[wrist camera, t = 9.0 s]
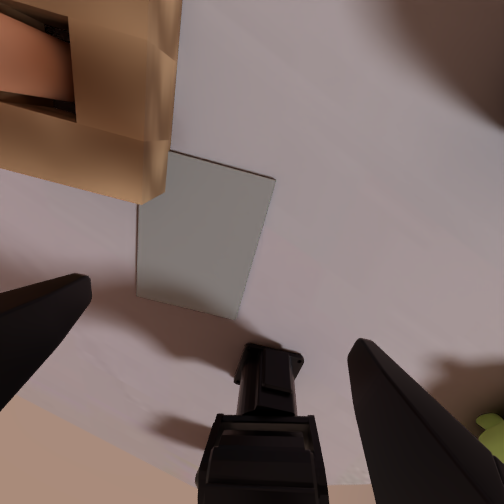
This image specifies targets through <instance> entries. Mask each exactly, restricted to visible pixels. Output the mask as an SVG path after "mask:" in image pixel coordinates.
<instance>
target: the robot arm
mask: <svg viewBox="0 0 504 504" xmlns="http://www.w3.org/2000/svg"><path fill="white" fill-rule="evenodd" d="M91 299H92V291H91V280H90V278H89V276H87V275H83V274H78V273H73V274H69V275H66V276H62V277H58V278H55V279H51V280H47V281H43V282H40V283H36V284H32V285H29V286H25V287H21V288H18V289H14V290H10V291H7V292H3V293H0V411H1V410H2V409H3V408H4V407H5V405H6V404H7V403H8V402H9V401H10V400H11V399H12V398H13V397H14V395H15V394H16V393H17V392H18V391H19V390H20V389H21V388H22V386H23V385H24V384H25V383H26V382H27V381H28V380H29V379H30V377H31V376H32V375H33V374H34V373H35V372H36V371H37V370H38V368H39V367H40V366H41V365H42V364H43V363H44V362H45V360H46V359H47V358H48V357H49V356H50V355H51V354H52V353H53V351H54V350H55V349H56V348H57V347H58V346H59V344H60V343H61V342H62V340H63V339H64V338H65V337H66V335H67V334H68V332H69V331H70V330H71V328H72V327H73V326H74V324H75V323H76V321H77V320H78V319H79V317H80V316H81V315H82V313H83V312H84V311H85V309H86V308H87V306H88V305H89V304H90V302H91ZM347 361H348V369H349V376H350V384H351V391H352V399H353V405H354V411H355V415H356V420H357V424H358V428H359V433H360V437H361V441H362V445H363V450H364V454H365V458H366V462H367V467H368V471H369V475H370V479H371V484H372V487H373V492H374V496H375V500H376V504H504V463H502V462H501V461H500V460H499V459H498V458H497V457H496V456H494V455H492V453H491V451H490V450H489V449H487V448H486V447H485V446H484V445H483V444H482V443H481V442H480V441H479V440H478V439H477V438H476V437H475V436H474V435H472V434H471V433H470V432H469V431H468V430H467V429H466V428H465V427H464V426H463V425H462V424H461V423H460V422H459V421H457V420H456V419H455V418H454V417H453V416H452V415H451V414H450V413H449V412H448V411H447V410H446V409H445V408H444V407H442V406H441V405H440V404H439V403H438V402H437V401H436V400H435V399H434V398H433V397H432V396H431V395H430V394H429V393H428V392H426V391H425V390H424V389H423V388H422V387H421V386H420V385H419V384H418V383H417V382H416V381H415V380H414V379H413V378H411V377H410V376H409V375H408V374H407V373H406V372H405V371H404V370H403V369H402V368H401V367H400V366H399V365H398V364H396V363H395V362H394V361H393V360H392V359H391V358H390V357H389V356H388V355H387V354H386V353H385V352H384V351H383V350H382V349H380V348H379V347H378V346H377V345H376V344H375V343H374V342H373V341H371V340H368V339H363V338H359V339H357V341H356V342H355V344H354V346H353V347H352V349H351V351H350V352H349V354H348V360H347ZM303 363H304V358H303V356H301V355H297V354H293V353H289V352H284V351H280V350H276V349H272V348H268V347H263V346H259V345H255V344H251V343H248V344H246V345H245V347H244V350H243V353H242V356H241V359H240V362H239V365H238V368H237V371H236V374H235V377H234V383H235V384H238V385H240V389H239V397H238V405H237V413H236V415H224V414H217V416H216V419H215V423H213V426H212V429H211V432H210V435H209V438H208V442H207V445H206V448H205V451H204V454H203V457H202V461H201V464H200V467H199V469H198V471H197V474H196V477H195V484H196V486H197V488H198V504H329V496H328V488H327V480H326V474H325V468H324V462H323V457H322V452H321V447H320V442H319V437H318V432H317V427H316V422H315V417H314V415H308V416H297V406H296V395H295V385H294V380H295V378H296V376H297V375H298V373H299V371H300V369H301V367H302V365H303Z"/></svg>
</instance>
